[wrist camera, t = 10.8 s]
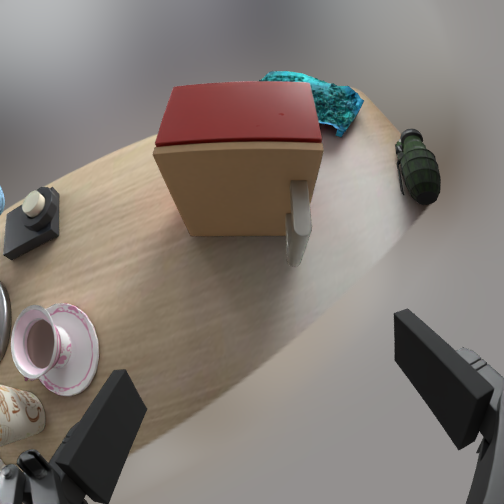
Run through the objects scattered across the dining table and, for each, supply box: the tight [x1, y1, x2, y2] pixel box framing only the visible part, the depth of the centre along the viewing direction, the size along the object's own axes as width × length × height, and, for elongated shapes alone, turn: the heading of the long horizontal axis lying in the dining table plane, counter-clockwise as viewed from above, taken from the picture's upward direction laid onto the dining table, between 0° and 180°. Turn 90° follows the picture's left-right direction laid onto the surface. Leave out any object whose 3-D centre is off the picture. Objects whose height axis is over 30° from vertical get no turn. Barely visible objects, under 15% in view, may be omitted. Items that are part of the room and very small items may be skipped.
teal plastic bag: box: [259, 71, 364, 137], centre depth 42 cm, size 18×16×2 cm
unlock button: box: [22, 191, 45, 218], centre depth 32 cm, size 4×4×2 cm
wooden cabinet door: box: [153, 142, 324, 267], centre depth 26 cm, size 6×13×15 cm, turn 89°
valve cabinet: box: [155, 81, 322, 147], centre depth 29 cm, size 8×13×15 cm, turn 89°
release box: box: [3, 187, 59, 260], centre depth 34 cm, size 8×12×4 cm, turn 111°
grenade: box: [395, 129, 440, 205], centre depth 35 cm, size 6×6×12 cm
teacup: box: [11, 303, 99, 396], centre depth 26 cm, size 12×12×6 cm
